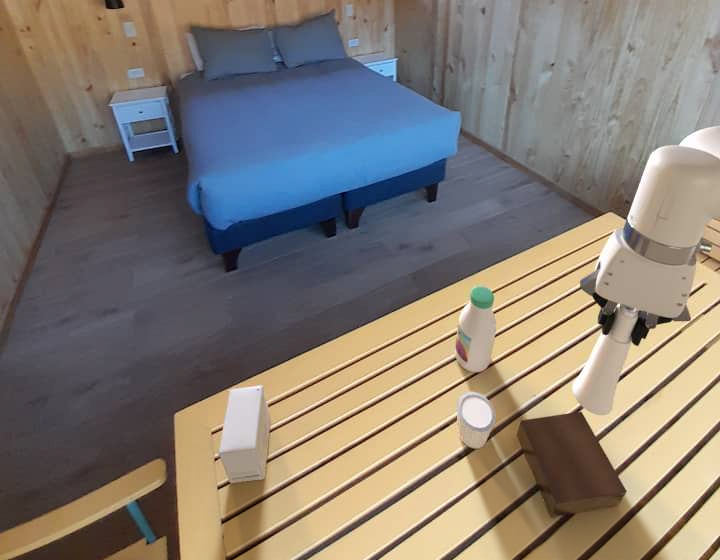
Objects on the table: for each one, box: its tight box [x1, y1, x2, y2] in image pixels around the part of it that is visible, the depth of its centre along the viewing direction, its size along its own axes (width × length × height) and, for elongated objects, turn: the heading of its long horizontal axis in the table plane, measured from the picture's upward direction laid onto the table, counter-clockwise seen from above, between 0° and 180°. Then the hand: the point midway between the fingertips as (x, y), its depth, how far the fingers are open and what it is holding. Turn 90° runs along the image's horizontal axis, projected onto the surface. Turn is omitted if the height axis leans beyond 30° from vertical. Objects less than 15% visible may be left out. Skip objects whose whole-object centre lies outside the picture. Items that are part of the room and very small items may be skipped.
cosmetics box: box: [218, 384, 271, 484], centre depth 72 cm, size 10×6×10 cm, turn 5°
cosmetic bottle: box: [571, 303, 639, 416], centre depth 62 cm, size 6×6×22 cm
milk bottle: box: [454, 285, 497, 373], centre depth 85 cm, size 8×8×20 cm
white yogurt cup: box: [456, 391, 496, 450], centre depth 75 cm, size 7×7×7 cm
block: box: [516, 411, 627, 518], centre depth 70 cm, size 12×12×5 cm
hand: (619, 331), depth 60 cm, fingers closed on cosmetic bottle, 3 cm apart
